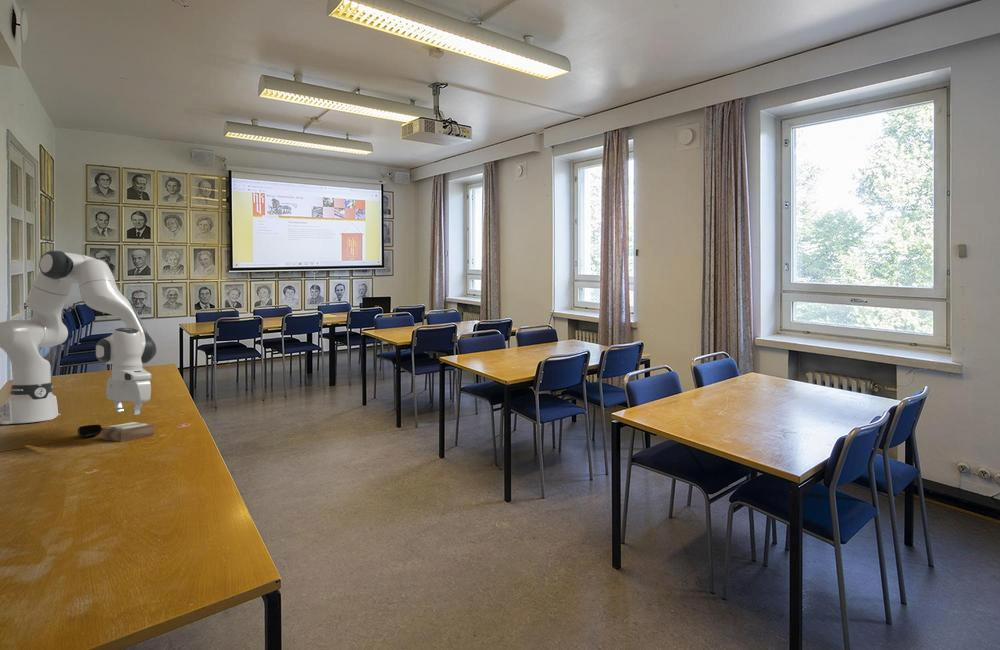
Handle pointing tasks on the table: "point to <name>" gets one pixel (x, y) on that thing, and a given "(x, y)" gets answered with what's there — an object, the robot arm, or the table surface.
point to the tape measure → (89, 430)
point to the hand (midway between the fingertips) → (127, 413)
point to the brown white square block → (127, 431)
